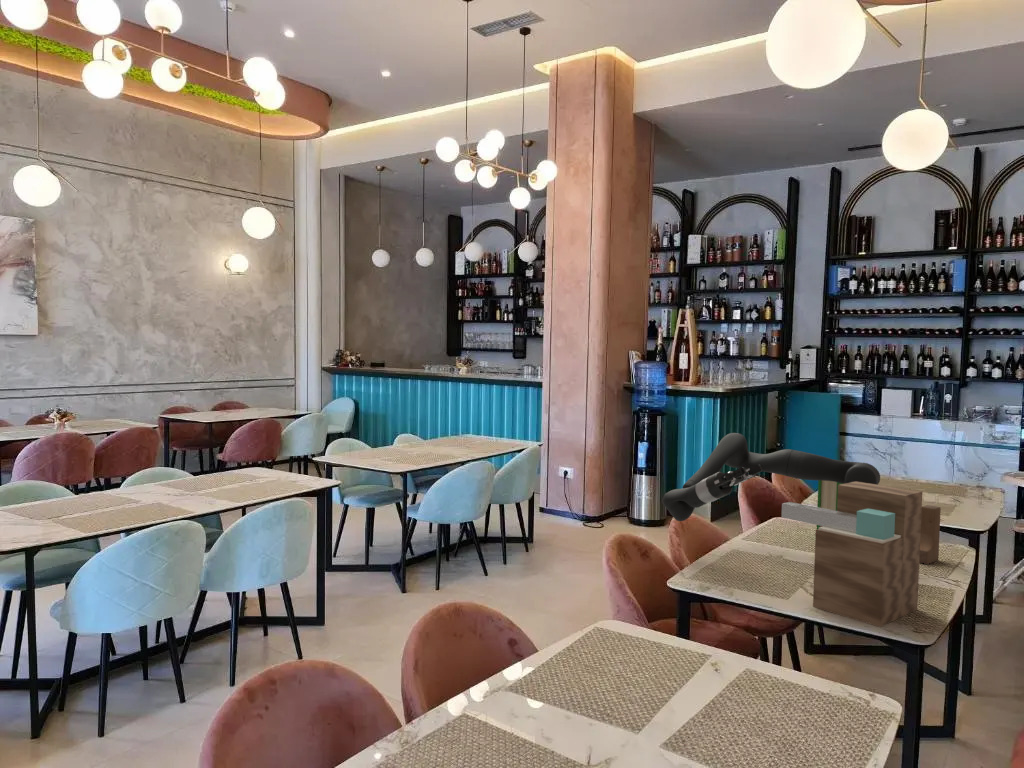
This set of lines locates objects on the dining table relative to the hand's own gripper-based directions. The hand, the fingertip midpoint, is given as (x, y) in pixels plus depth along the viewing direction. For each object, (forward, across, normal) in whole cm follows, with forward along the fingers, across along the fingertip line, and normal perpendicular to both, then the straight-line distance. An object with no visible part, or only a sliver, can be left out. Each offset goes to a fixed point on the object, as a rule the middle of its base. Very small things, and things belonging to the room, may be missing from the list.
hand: (752, 468), depth 224 cm
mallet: (+19, +5, -24) cm, 31 cm away
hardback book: (-23, -66, -25) cm, 74 cm away
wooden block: (+5, -62, -41) cm, 75 cm away
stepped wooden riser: (+14, 0, -46) cm, 48 cm away
